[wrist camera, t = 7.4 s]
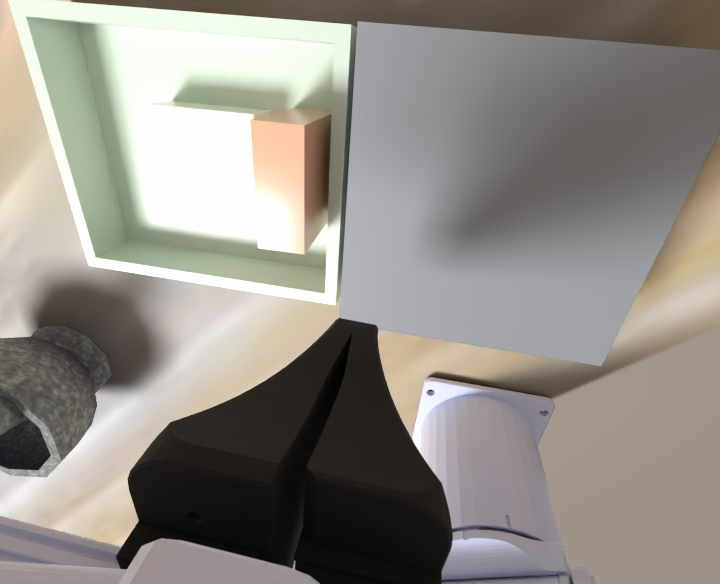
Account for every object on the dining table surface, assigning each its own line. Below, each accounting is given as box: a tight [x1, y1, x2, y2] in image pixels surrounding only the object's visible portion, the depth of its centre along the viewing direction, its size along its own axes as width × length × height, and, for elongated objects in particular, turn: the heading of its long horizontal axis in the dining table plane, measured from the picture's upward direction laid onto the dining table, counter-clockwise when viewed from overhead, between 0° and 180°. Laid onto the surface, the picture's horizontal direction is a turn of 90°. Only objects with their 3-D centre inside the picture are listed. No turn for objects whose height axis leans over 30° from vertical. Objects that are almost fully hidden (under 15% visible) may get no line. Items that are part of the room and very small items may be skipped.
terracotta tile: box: [250, 108, 332, 254], centre depth 17 cm, size 5×5×2 cm
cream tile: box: [146, 101, 270, 224], centre depth 19 cm, size 5×5×2 cm
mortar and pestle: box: [0, 325, 112, 477], centre depth 25 cm, size 11×9×12 cm
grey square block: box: [339, 21, 720, 366], centre depth 17 cm, size 12×12×4 cm
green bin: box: [8, 0, 357, 305], centre depth 19 cm, size 12×14×3 cm
